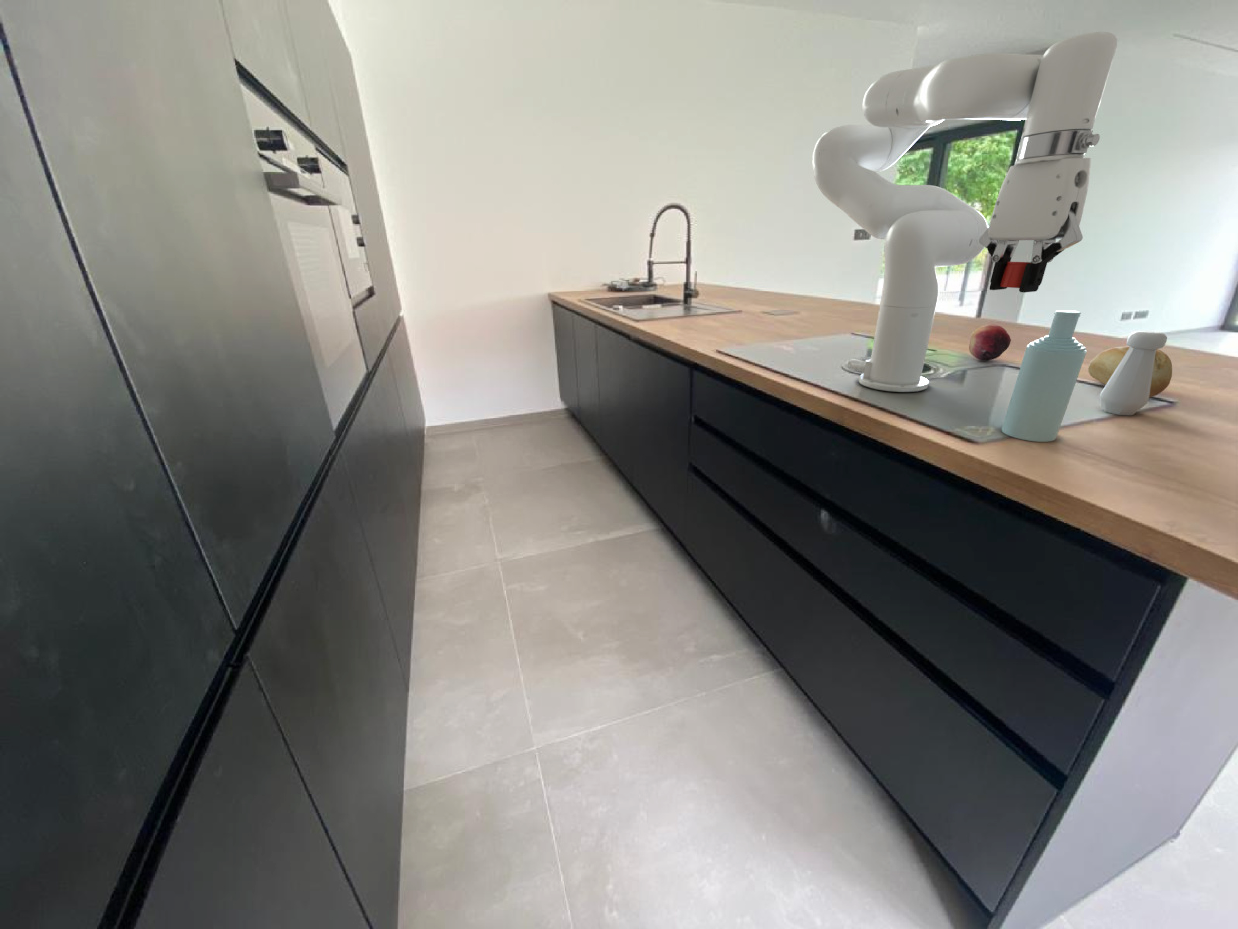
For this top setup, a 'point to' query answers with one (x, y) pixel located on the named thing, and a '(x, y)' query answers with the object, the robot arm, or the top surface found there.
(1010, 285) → the cap
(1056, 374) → the bottle
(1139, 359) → the salt shaker
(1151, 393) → the potato
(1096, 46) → the robot arm
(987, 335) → the fruit
